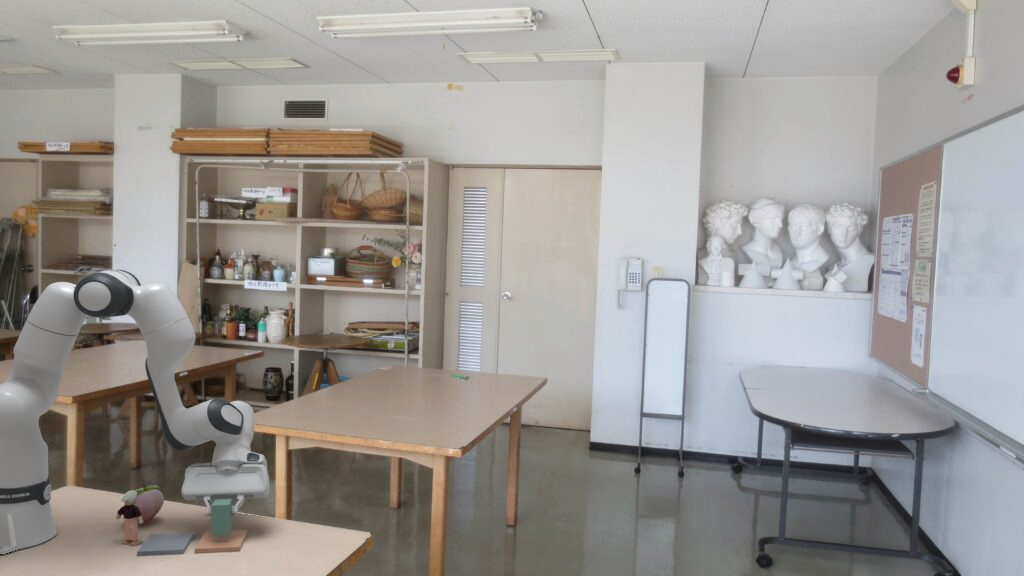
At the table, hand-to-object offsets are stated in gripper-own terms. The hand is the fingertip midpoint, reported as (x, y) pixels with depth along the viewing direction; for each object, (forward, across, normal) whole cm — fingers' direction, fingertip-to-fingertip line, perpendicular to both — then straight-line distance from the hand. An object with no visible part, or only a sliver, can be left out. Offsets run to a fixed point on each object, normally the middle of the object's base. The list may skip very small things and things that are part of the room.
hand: (221, 514), depth 171 cm
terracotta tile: (+5, 0, +5) cm, 7 cm away
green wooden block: (+3, 0, +3) cm, 4 cm away
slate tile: (+5, -12, +5) cm, 14 cm away
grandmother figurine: (+3, -22, +7) cm, 23 cm away
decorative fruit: (-6, -22, +16) cm, 28 cm away
